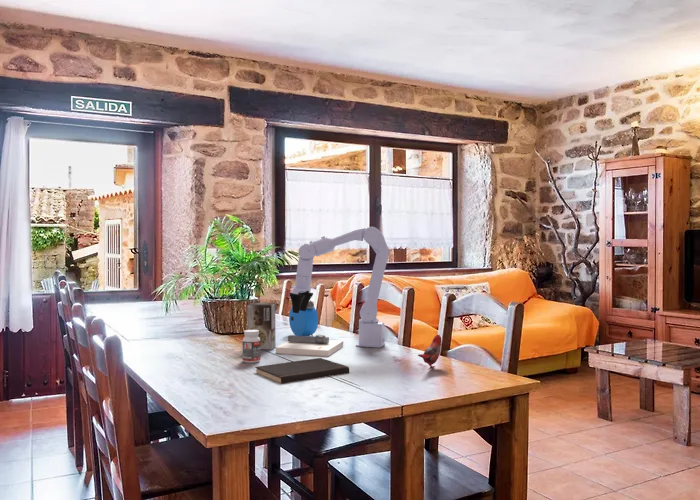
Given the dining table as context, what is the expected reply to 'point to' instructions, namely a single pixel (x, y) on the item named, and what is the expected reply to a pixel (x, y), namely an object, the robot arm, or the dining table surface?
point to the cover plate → (310, 348)
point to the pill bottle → (251, 346)
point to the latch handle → (309, 339)
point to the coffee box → (263, 323)
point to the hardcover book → (301, 370)
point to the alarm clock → (304, 321)
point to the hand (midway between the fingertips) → (299, 311)
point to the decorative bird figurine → (432, 352)
